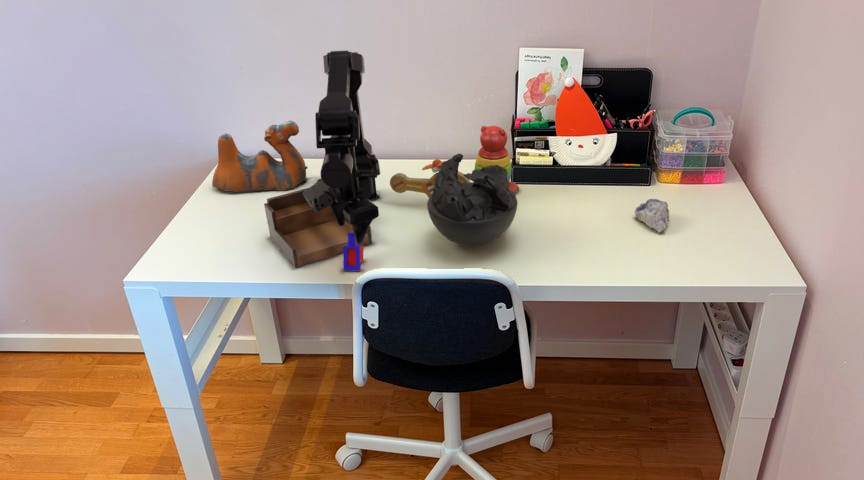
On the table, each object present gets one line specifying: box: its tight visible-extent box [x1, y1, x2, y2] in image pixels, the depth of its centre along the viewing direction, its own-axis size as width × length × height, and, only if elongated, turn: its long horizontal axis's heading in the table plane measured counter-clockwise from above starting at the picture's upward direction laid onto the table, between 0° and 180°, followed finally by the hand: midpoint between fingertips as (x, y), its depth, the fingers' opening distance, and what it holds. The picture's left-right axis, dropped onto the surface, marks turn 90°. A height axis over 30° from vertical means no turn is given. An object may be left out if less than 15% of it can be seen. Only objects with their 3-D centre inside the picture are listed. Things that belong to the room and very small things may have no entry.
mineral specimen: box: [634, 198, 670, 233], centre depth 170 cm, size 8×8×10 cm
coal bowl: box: [426, 153, 518, 247], centre depth 162 cm, size 20×20×19 cm
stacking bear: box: [474, 125, 520, 195], centre depth 183 cm, size 11×10×18 cm
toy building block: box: [342, 233, 364, 272], centre depth 158 cm, size 4×4×8 cm
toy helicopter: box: [389, 158, 471, 199], centre depth 178 cm, size 8×21×14 cm, turn 72°
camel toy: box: [211, 120, 309, 194], centre depth 190 cm, size 25×13×17 cm, turn 82°
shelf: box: [263, 187, 373, 269], centre depth 166 cm, size 19×16×10 cm
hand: (350, 233), depth 155 cm, fingers open, 9 cm apart
